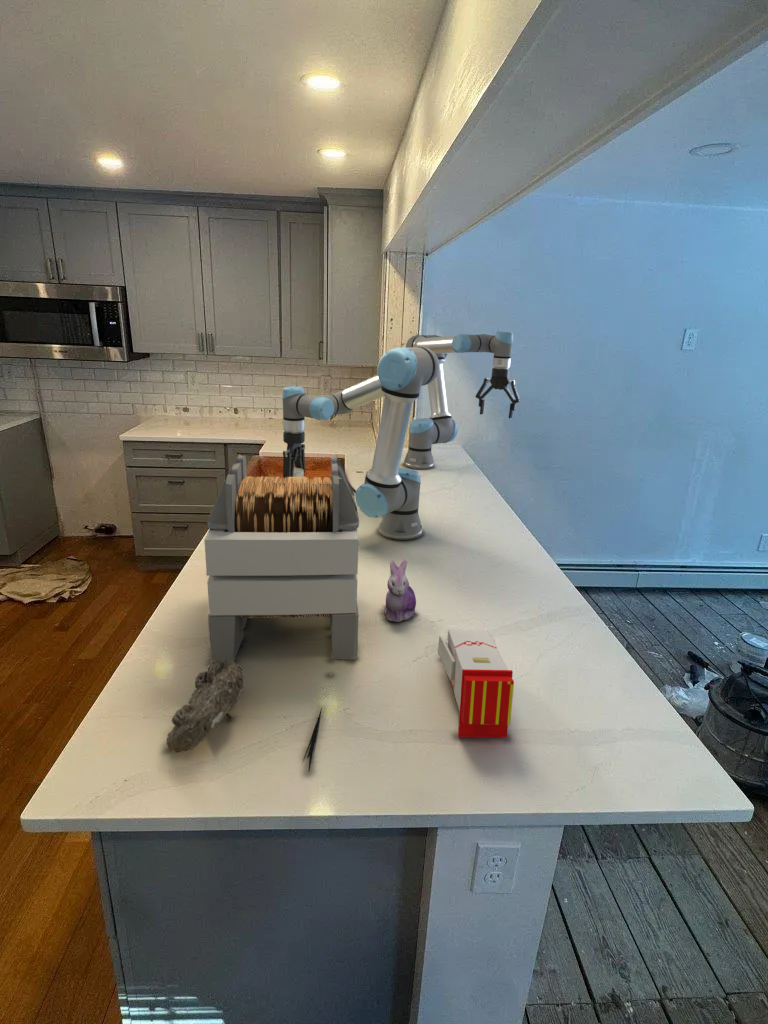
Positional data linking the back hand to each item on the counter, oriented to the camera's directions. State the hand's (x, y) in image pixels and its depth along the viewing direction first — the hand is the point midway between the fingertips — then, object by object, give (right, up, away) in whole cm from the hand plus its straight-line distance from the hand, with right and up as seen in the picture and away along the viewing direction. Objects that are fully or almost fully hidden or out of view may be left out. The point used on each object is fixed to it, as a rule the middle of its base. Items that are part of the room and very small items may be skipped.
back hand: (495, 416), depth 258 cm
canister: (-84, -40, -48) cm, 105 cm away
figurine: (-47, -70, -110) cm, 139 cm away
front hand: (-84, -37, -49) cm, 104 cm away
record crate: (-75, -71, -117) cm, 156 cm away
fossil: (-84, -83, -149) cm, 190 cm away
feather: (-63, -83, -149) cm, 182 cm away
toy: (-33, -81, -139) cm, 164 cm away
